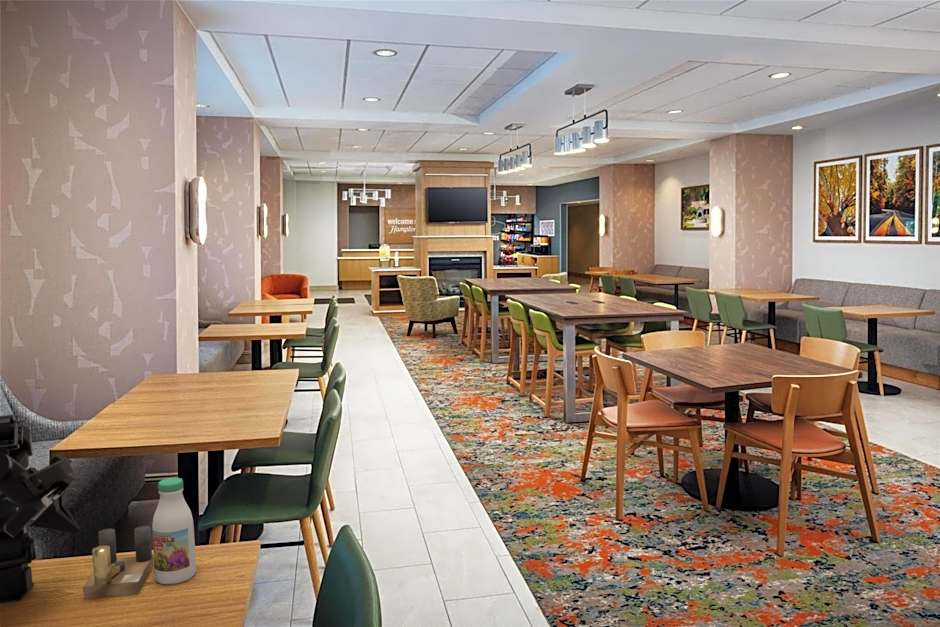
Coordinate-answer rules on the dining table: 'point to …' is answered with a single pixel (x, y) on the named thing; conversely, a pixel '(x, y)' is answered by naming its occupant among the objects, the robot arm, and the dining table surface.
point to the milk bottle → (173, 535)
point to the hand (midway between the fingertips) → (77, 531)
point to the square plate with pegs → (124, 566)
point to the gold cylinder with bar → (103, 565)
